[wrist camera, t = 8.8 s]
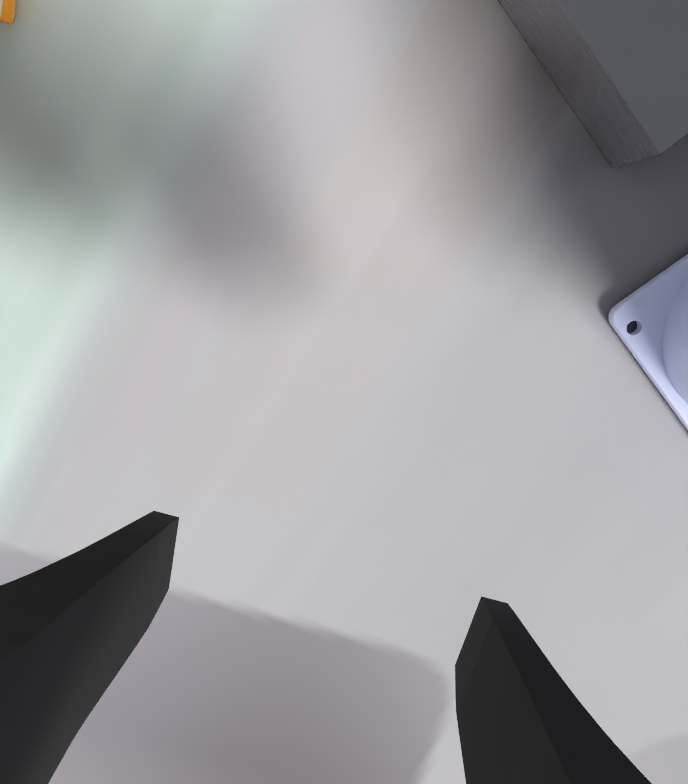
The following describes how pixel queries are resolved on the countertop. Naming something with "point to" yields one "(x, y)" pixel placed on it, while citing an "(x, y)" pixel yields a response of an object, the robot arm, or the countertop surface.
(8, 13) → the supplement box
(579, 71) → the grey peg hole board
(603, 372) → the countertop surface
